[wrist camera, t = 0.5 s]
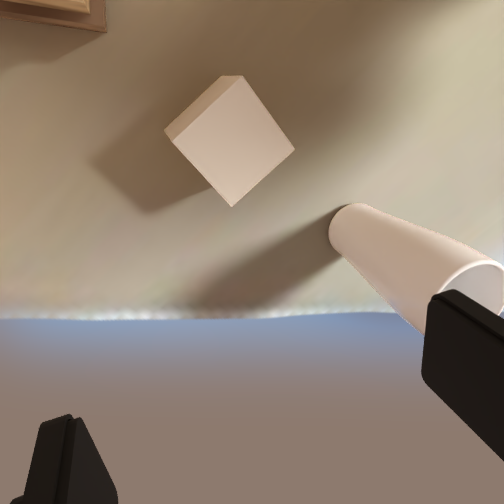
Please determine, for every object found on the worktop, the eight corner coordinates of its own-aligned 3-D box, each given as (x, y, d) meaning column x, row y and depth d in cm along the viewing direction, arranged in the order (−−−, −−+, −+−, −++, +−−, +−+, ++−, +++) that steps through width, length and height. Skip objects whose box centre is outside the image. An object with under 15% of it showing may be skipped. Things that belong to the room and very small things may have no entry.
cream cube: (220, 75, 29) (242, 75, 23) (266, 137, 32) (295, 149, 26) (163, 129, 29) (171, 141, 24) (214, 185, 32) (231, 207, 27)
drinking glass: (391, 219, 39) (526, 291, 26) (347, 269, 40) (456, 363, 27) (352, 179, 35) (484, 239, 22) (305, 235, 36) (406, 323, 23)
